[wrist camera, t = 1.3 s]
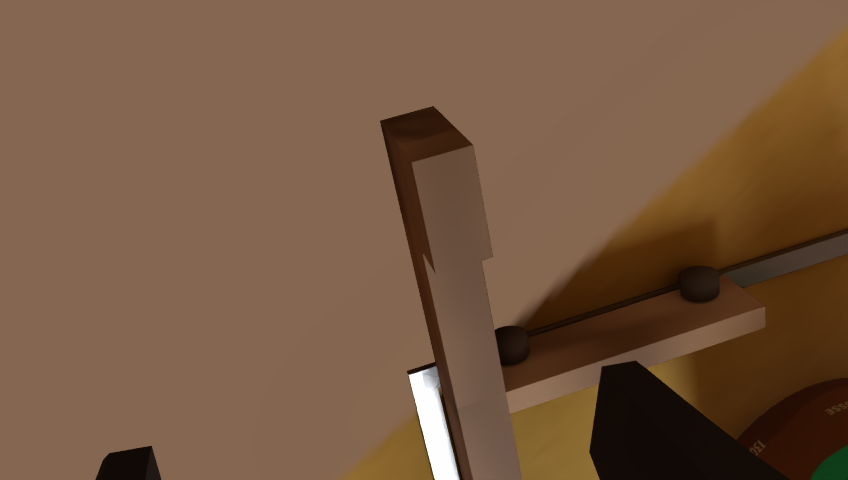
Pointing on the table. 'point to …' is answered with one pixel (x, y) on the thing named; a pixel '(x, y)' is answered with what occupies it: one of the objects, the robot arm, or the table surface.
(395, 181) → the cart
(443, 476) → the track
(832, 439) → the food container
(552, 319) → the table surface
